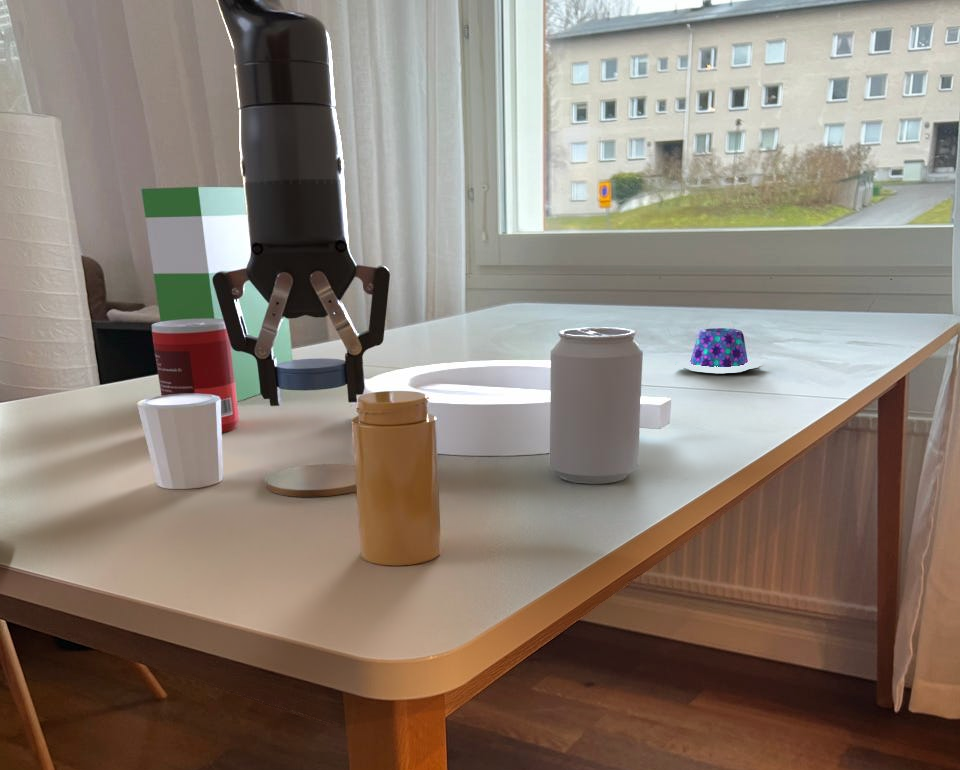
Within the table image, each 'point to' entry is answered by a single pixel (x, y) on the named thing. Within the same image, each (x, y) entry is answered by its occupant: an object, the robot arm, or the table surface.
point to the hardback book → (206, 264)
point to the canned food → (197, 362)
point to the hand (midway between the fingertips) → (314, 401)
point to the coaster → (313, 480)
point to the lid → (311, 374)
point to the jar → (396, 478)
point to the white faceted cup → (184, 439)
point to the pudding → (719, 348)
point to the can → (595, 404)
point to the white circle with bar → (492, 405)
